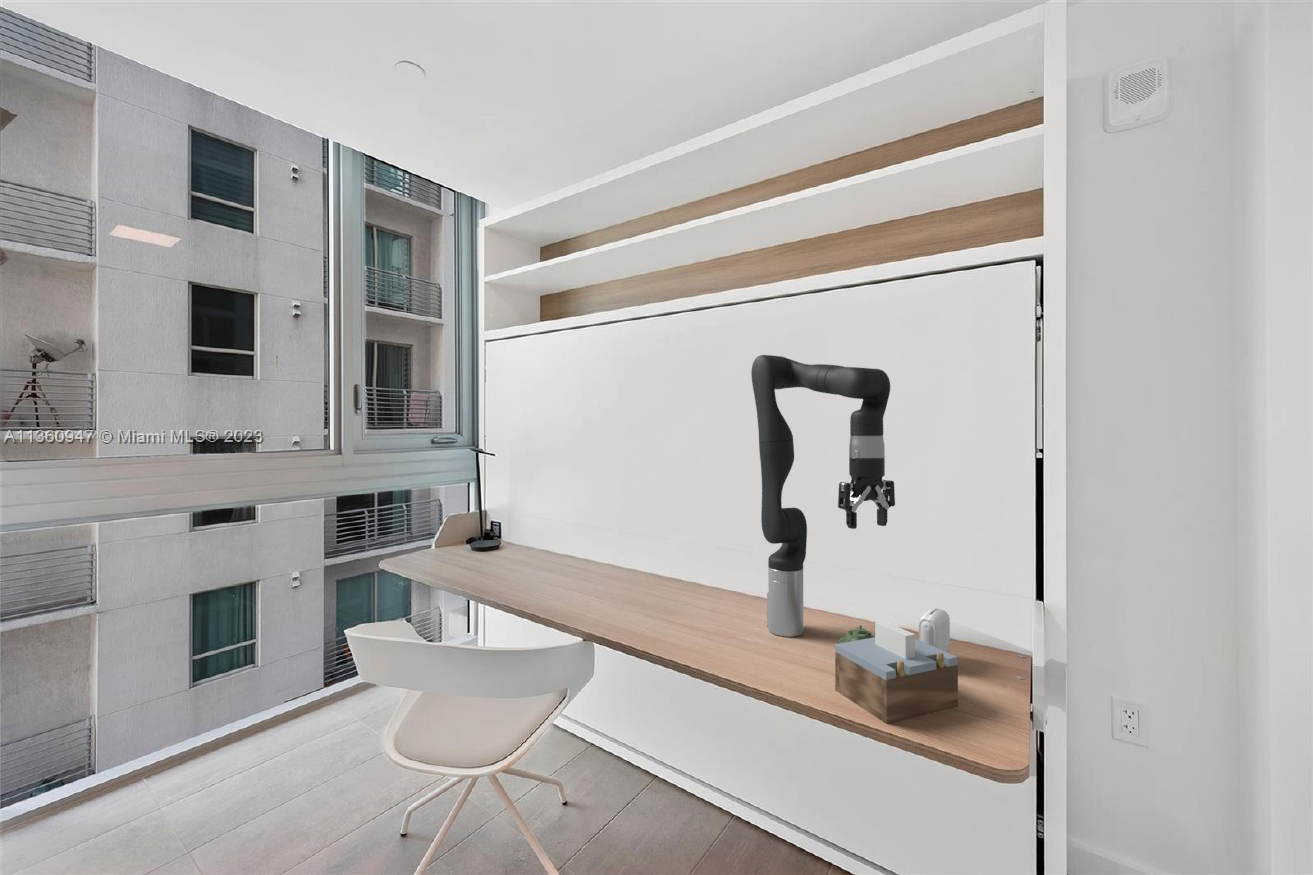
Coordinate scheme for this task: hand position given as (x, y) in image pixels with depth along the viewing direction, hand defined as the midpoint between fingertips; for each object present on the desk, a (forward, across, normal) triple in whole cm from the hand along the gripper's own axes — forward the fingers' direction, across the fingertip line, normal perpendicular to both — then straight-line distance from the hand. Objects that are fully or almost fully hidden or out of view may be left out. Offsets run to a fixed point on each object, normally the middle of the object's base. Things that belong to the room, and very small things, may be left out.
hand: (867, 526), depth 122 cm
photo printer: (+32, -16, +4) cm, 36 cm away
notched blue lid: (+24, +5, +13) cm, 28 cm away
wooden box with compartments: (+32, +5, +13) cm, 35 cm away
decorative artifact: (+32, -4, -7) cm, 33 cm away
